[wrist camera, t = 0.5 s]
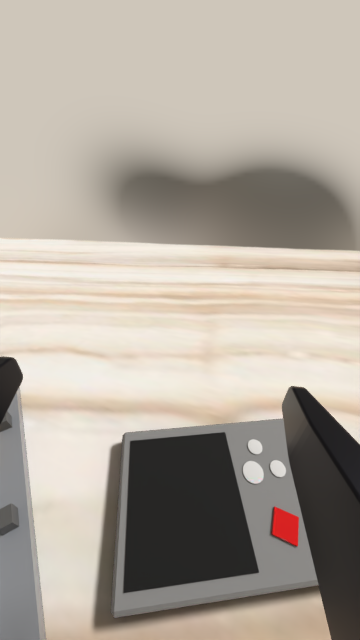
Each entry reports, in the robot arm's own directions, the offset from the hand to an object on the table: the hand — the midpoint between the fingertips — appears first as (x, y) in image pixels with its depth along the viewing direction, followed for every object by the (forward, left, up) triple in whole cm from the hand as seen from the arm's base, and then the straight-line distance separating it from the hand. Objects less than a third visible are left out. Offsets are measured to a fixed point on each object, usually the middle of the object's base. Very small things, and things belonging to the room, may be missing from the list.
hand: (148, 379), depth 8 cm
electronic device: (+2, -4, -17) cm, 18 cm away
